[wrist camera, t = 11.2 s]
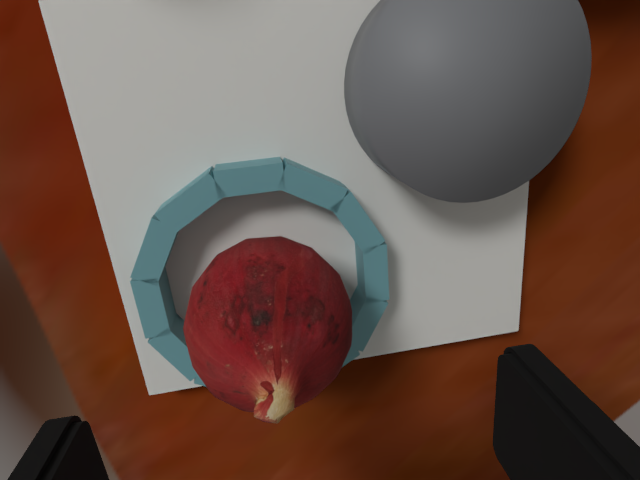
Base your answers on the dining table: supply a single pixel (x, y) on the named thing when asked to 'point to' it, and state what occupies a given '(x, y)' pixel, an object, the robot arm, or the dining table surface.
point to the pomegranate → (268, 326)
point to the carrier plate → (321, 150)
